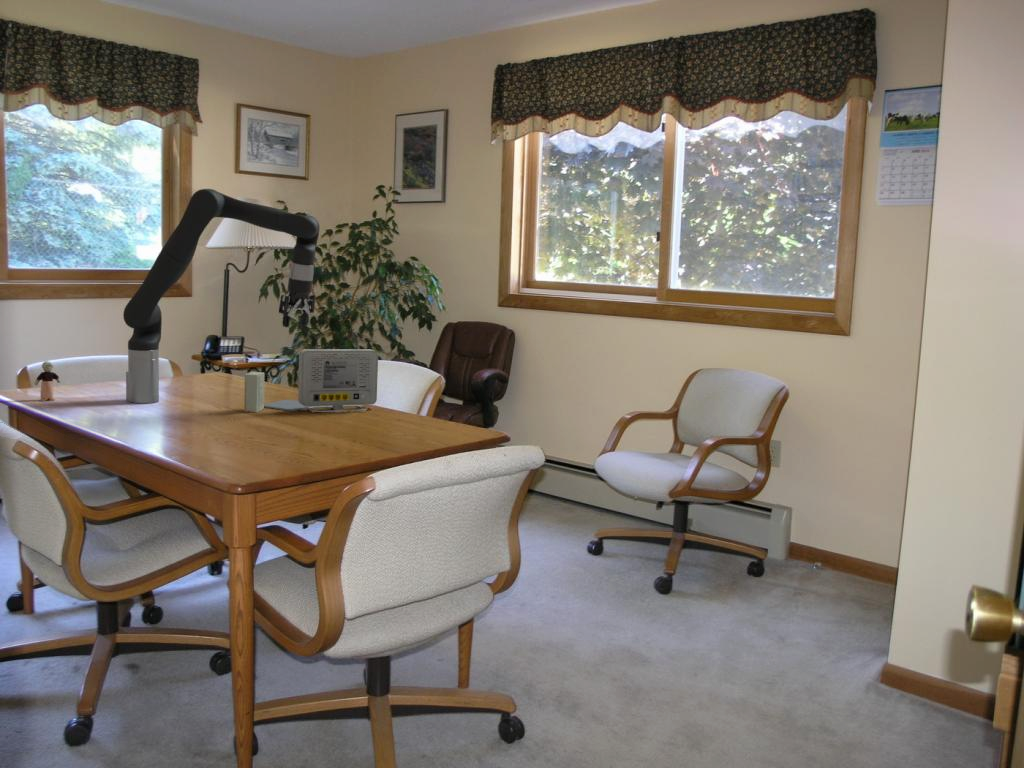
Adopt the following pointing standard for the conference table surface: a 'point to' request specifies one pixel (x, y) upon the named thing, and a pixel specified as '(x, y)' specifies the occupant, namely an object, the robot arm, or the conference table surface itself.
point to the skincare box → (254, 392)
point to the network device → (337, 378)
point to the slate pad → (286, 405)
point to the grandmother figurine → (47, 381)
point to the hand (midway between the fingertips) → (294, 326)
